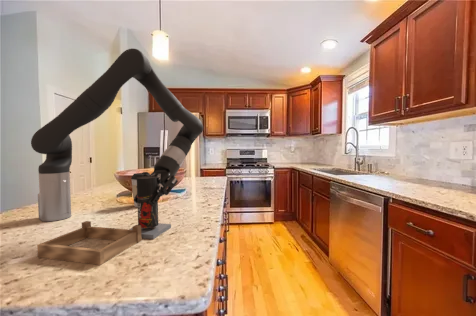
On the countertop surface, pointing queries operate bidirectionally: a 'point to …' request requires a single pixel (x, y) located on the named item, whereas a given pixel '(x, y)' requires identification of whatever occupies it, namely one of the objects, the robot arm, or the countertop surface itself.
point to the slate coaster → (154, 231)
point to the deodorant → (146, 201)
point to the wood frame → (63, 251)
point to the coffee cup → (134, 184)
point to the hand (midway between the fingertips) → (143, 203)
